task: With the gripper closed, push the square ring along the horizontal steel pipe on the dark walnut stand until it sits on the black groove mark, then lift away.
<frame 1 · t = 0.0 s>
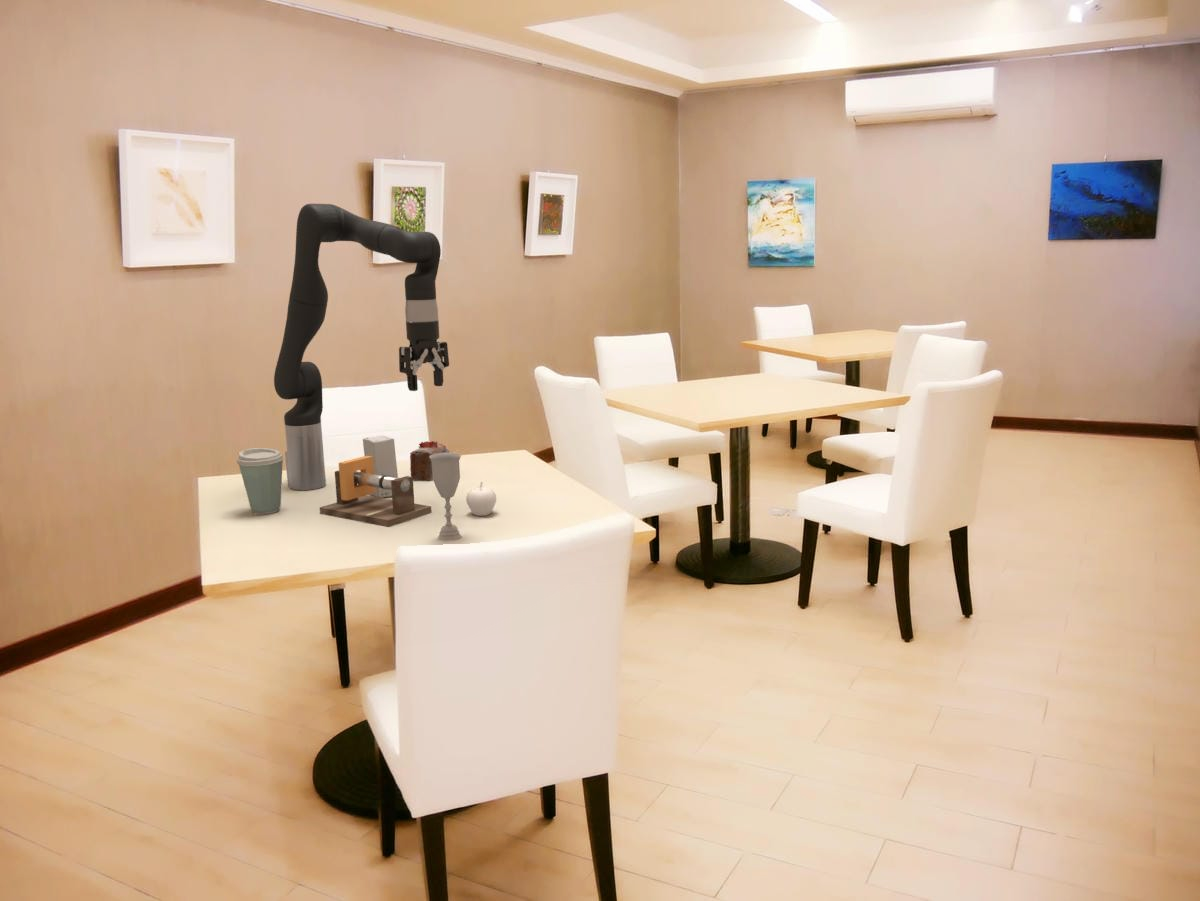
hand: (426, 388, 228), 29 cm above the table, fingers open, 8 cm apart
chalice: (449, 537, 210), on the table
skincare box: (383, 495, 249), on the table
apple: (482, 514, 228), on the table
pipe stand: (375, 512, 231), on the table
food item: (430, 476, 269), on the table
square ring: (357, 477, 232), point 8 cm above the table, slide at 0.0 cm
pipe: (373, 480, 229), point 8 cm above the table
disposable coffee cup: (265, 512, 234), on the table
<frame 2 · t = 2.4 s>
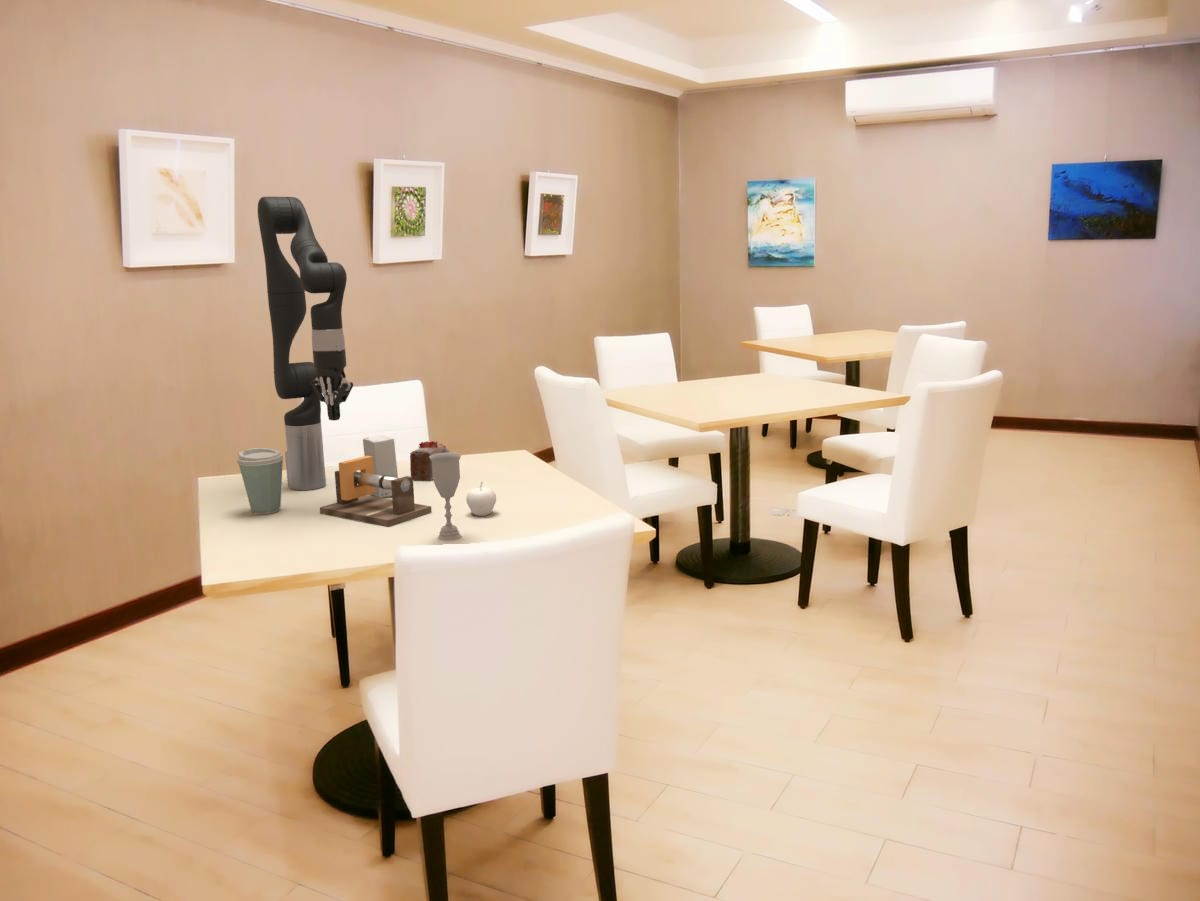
hand: (334, 419, 233), 22 cm above the table, fingers closed
nothing on the table moved.
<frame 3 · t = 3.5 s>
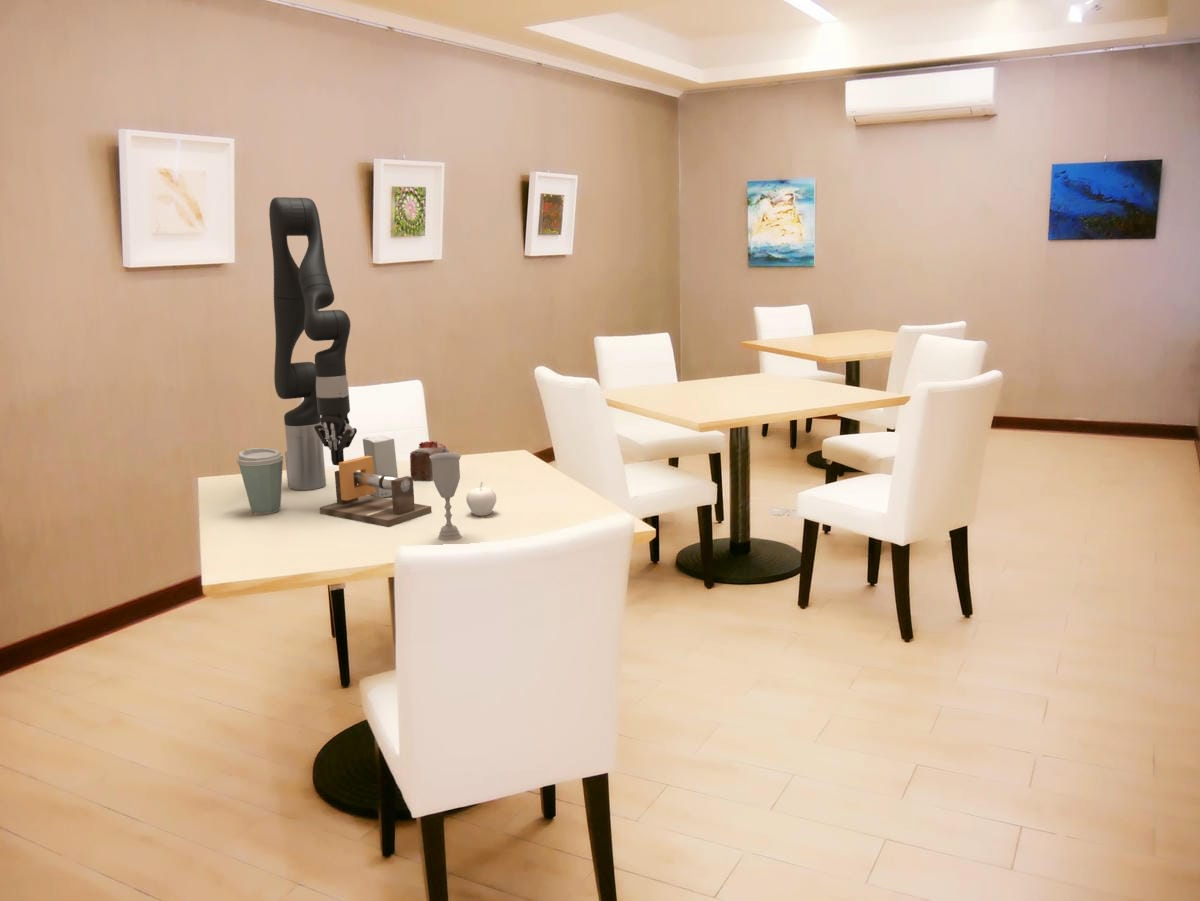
hand: (338, 464, 235), 11 cm above the table, fingers closed
nothing on the table moved.
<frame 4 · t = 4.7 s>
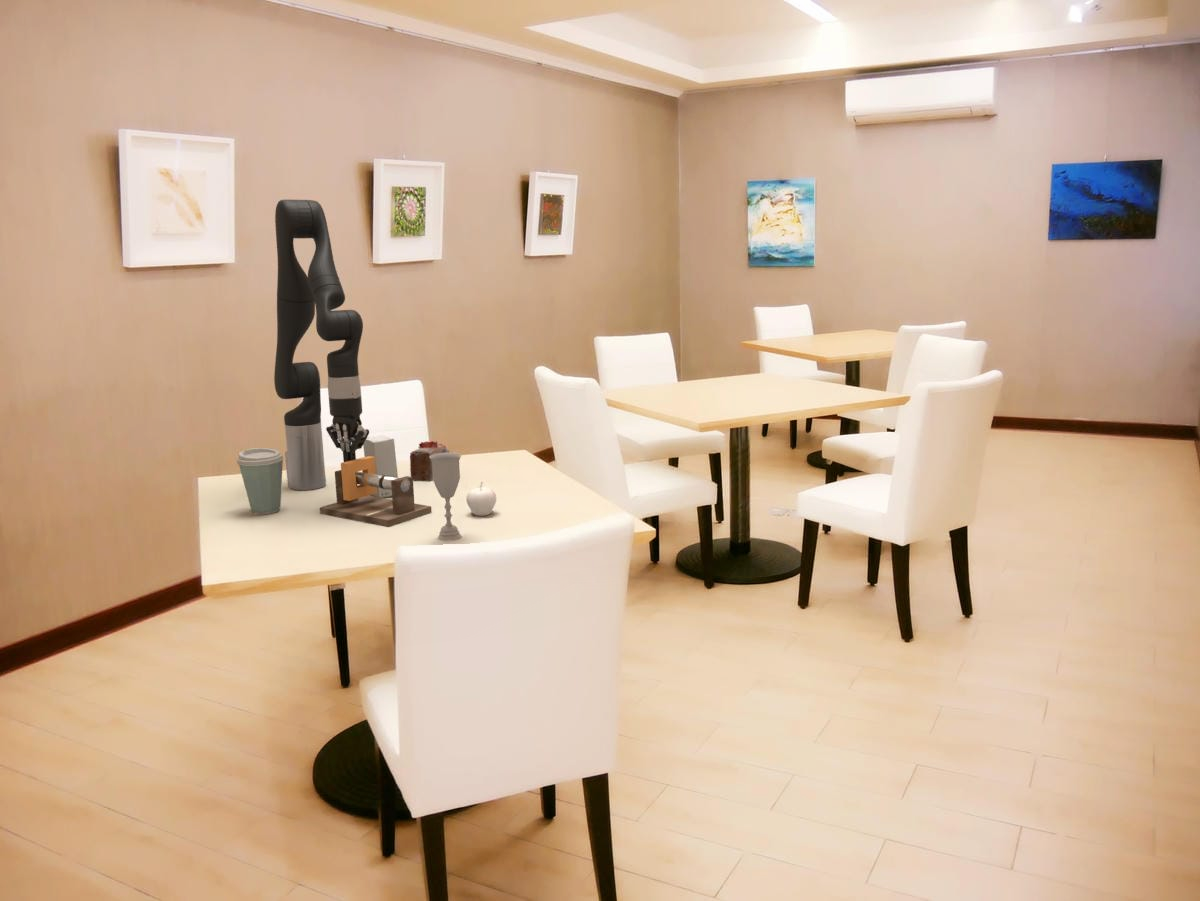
hand: (350, 466, 233), 11 cm above the table, fingers closed
square ring: (359, 478, 232), point 8 cm above the table, slide at 0.7 cm, touching gripper
everything else where it was.
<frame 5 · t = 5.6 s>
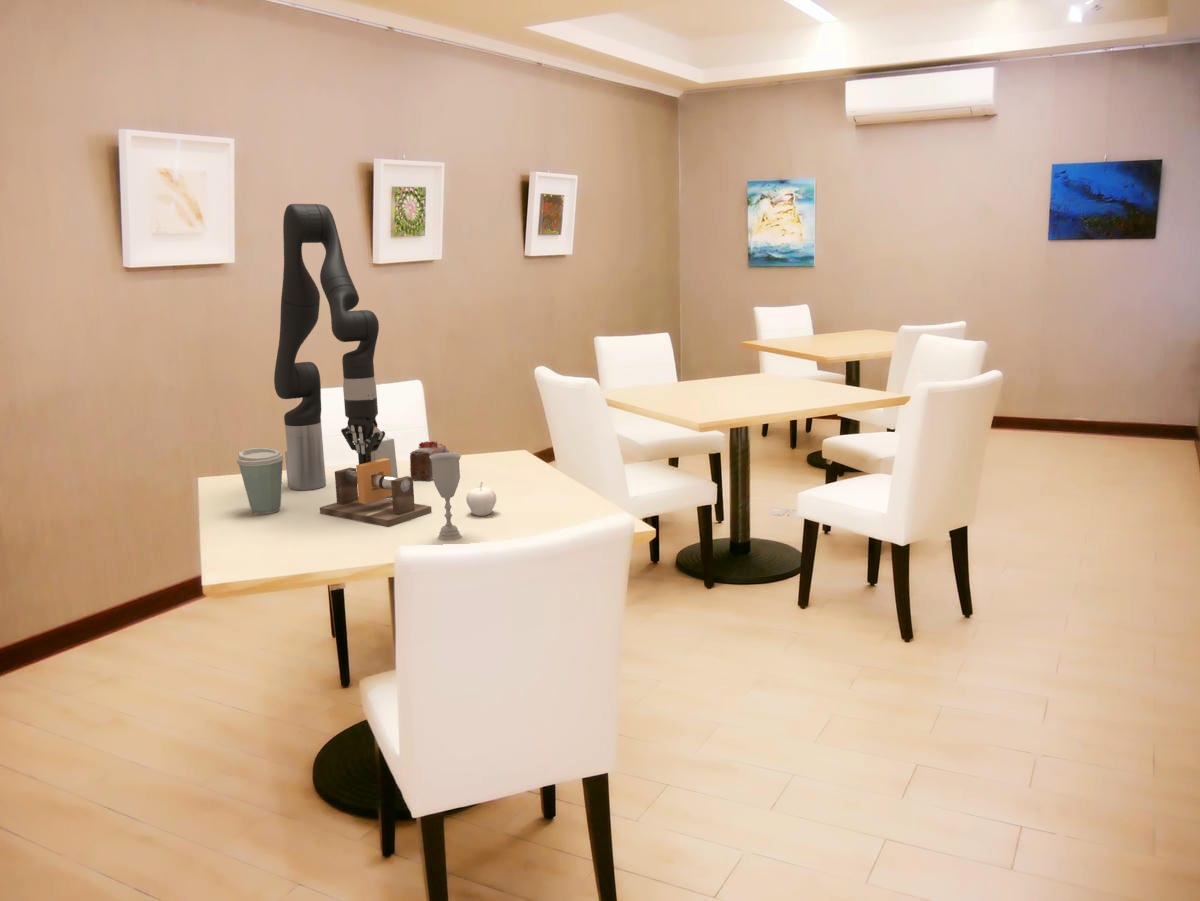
hand: (365, 468, 230), 11 cm above the table, fingers closed
square ring: (374, 480, 229), point 8 cm above the table, slide at 6.0 cm, touching gripper
everything else where it was.
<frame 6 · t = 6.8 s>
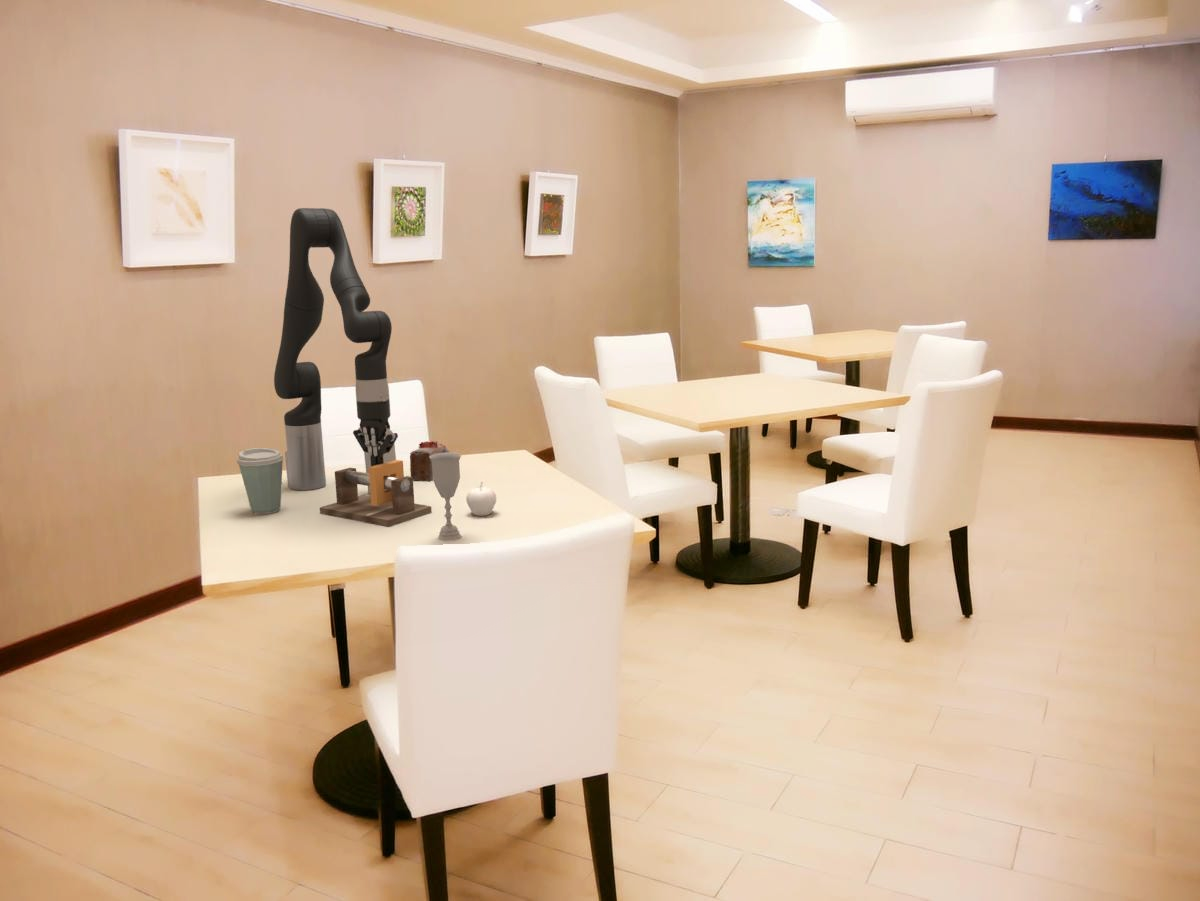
hand: (377, 470, 228), 11 cm above the table, fingers closed
square ring: (387, 482, 227), point 8 cm above the table, slide at 10.1 cm, touching gripper
everything else where it was.
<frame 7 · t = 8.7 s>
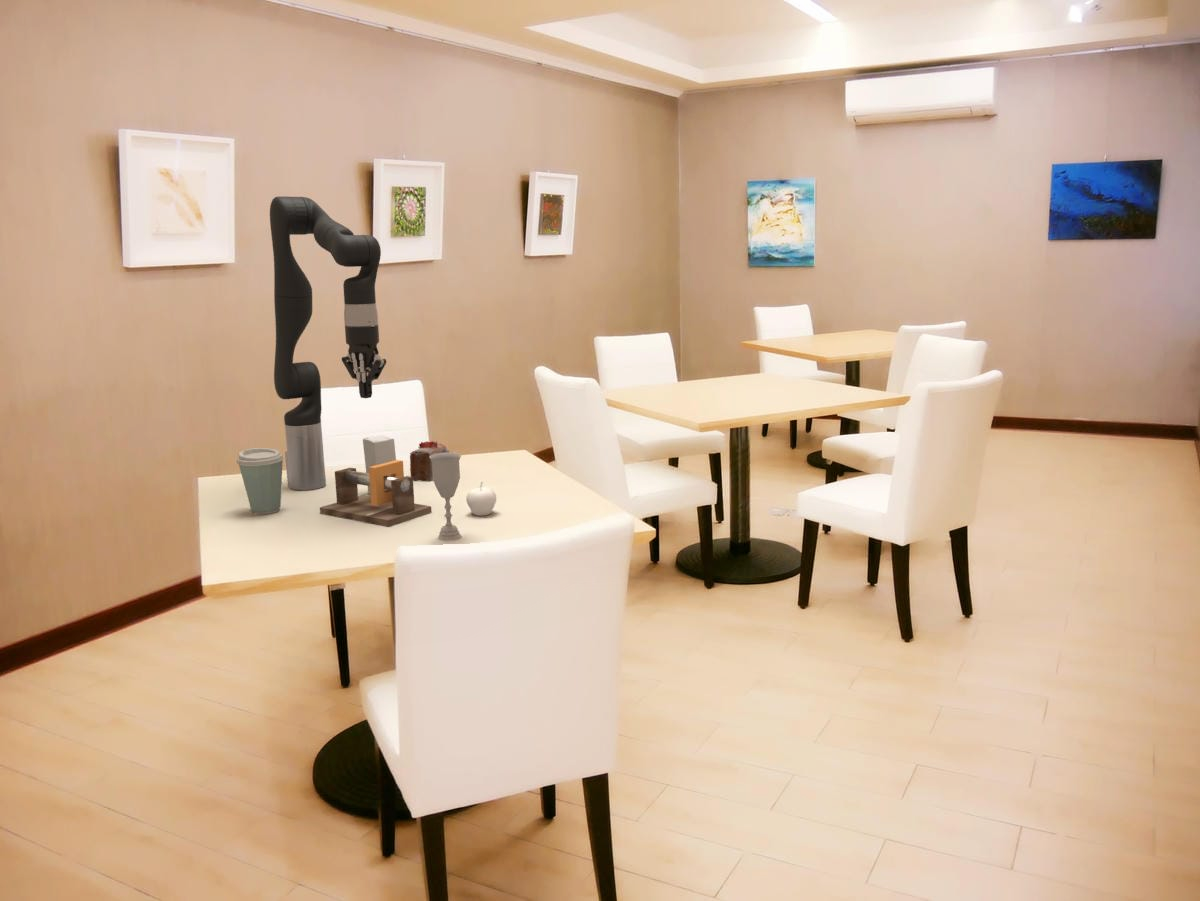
hand: (366, 397, 226), 28 cm above the table, fingers closed
square ring: (387, 482, 227), point 8 cm above the table, slide at 10.1 cm
everything else where it was.
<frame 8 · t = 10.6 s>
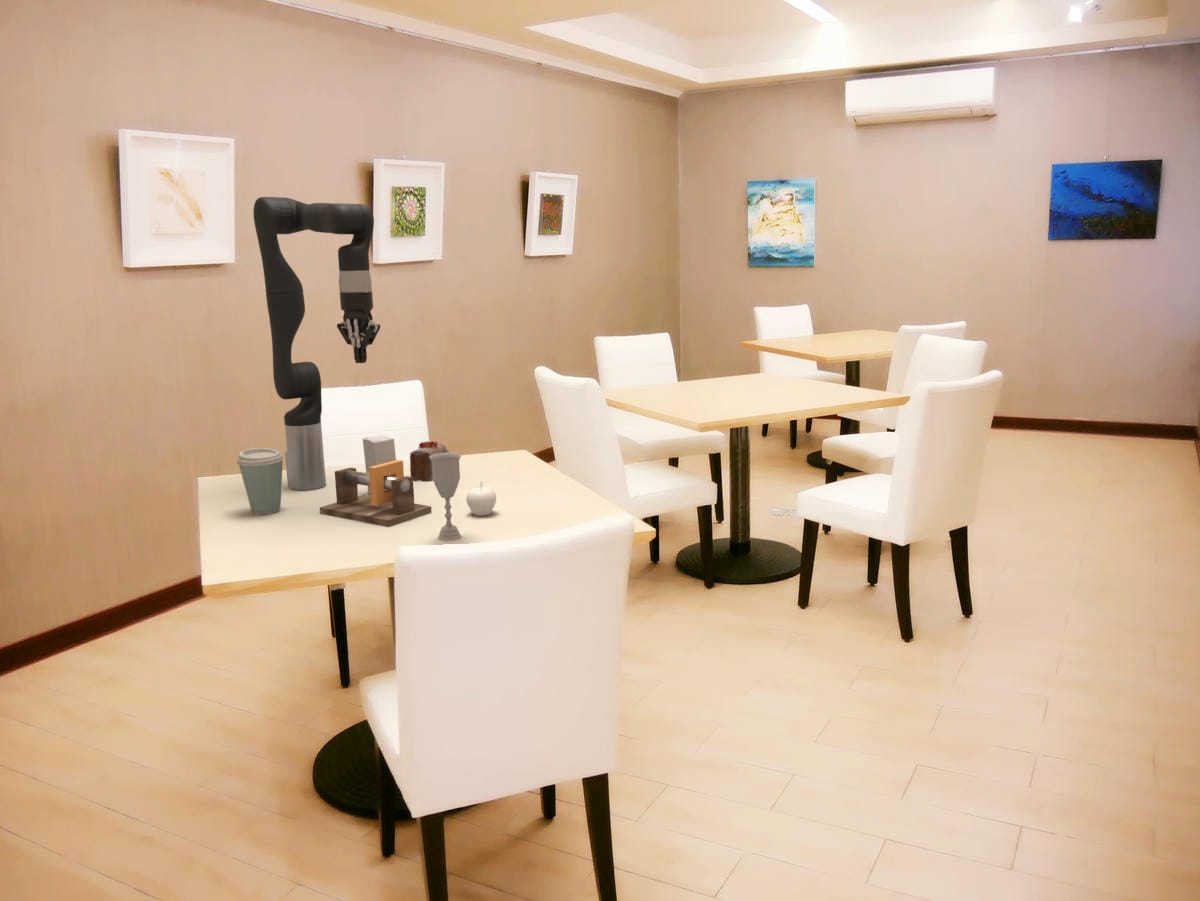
hand: (360, 362, 233), 35 cm above the table, fingers closed
nothing on the table moved.
at the end: square ring slide at 10.1 cm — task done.
